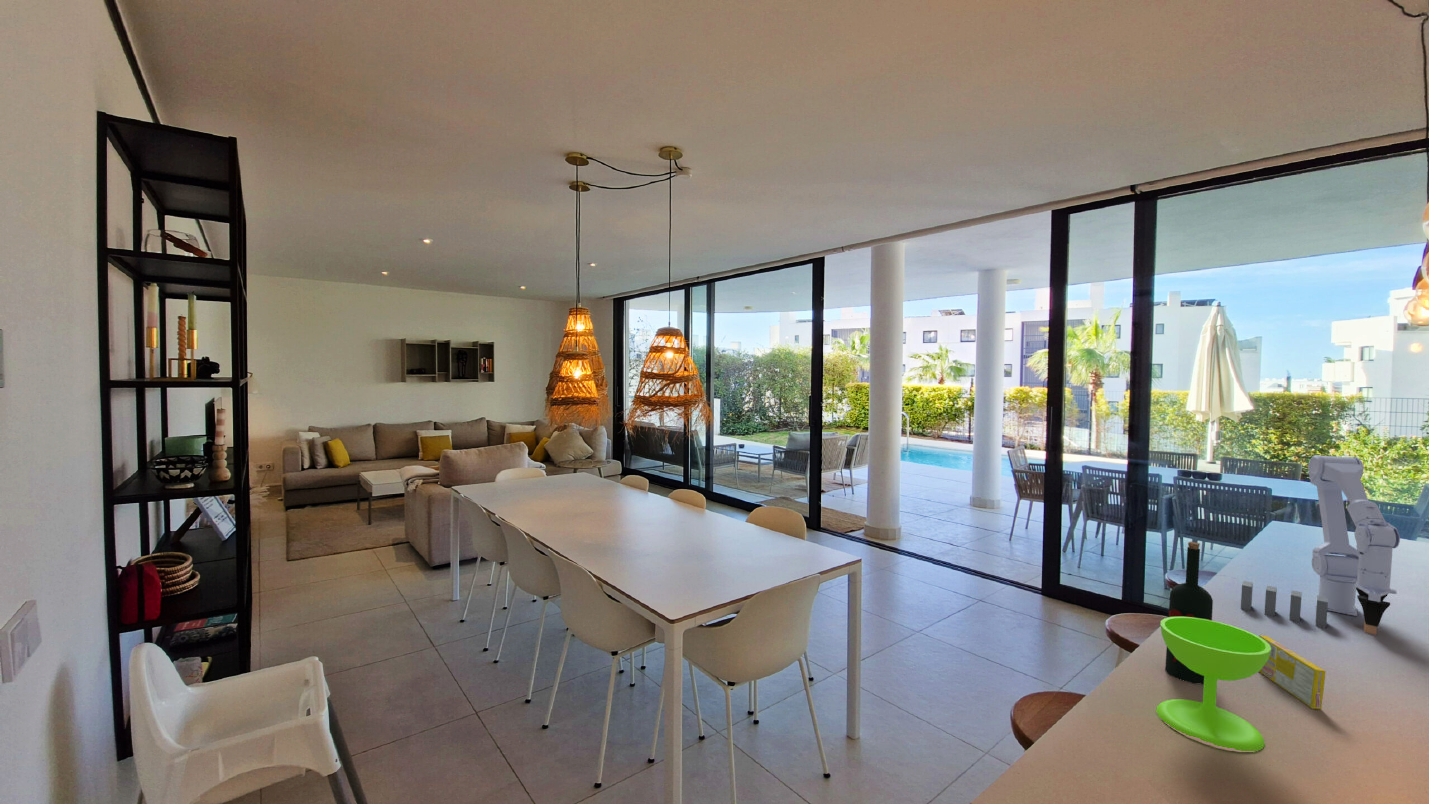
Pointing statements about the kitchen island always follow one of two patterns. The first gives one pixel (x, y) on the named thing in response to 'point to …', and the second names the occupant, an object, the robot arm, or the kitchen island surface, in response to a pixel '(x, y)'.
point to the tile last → (1246, 595)
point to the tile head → (1370, 628)
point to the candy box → (1294, 674)
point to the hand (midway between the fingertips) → (1370, 620)
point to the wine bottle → (1188, 610)
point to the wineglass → (1213, 678)
